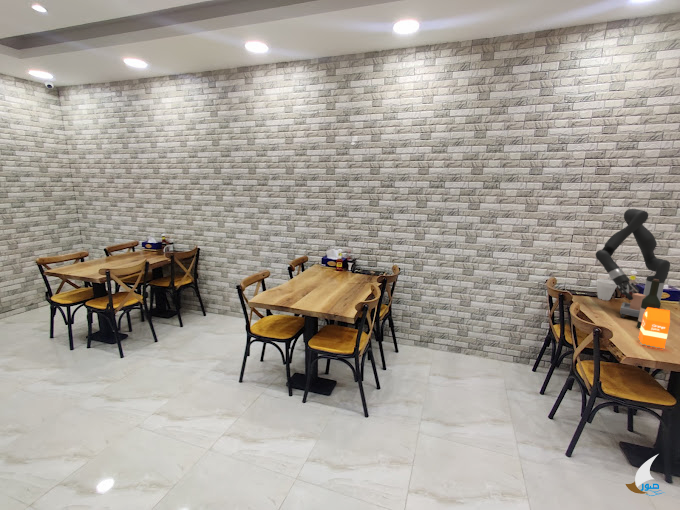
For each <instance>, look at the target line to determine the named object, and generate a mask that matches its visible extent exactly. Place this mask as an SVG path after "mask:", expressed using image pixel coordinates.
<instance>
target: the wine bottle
mask: <svg viewBox="0 0 680 510" xmlns="http://www.w3.org/2000/svg"><path fill="white" fill-rule="evenodd" d="M659 283H660V281H659V280H658V279H653V280H652V283H651V288H650V292H649V295H647V296H646V297H645V298H644V299H642V304H641V308H640V313H639V317H637V318H638V319H637V323H636V328H637V327H638V328H637V329H639V328H641V324H642V319H643V315H644V313H645V311H646V309H647V307H650V308H657V309H661V305H662V303H661V301H659V299H658V297H657V292H658V288H659Z"/></svg>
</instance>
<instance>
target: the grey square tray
mask: <svg viewBox="0 0 680 510" xmlns="http://www.w3.org/2000/svg"><path fill="white" fill-rule="evenodd" d="M630 304H631V302H626V301H622V303H621V305H620V310H619V314H620V317H621V318H623V319H625V317H626V315H627V316H631V317H635V318H639V313H640V311H639V310H634V309H629V308H630Z"/></svg>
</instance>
